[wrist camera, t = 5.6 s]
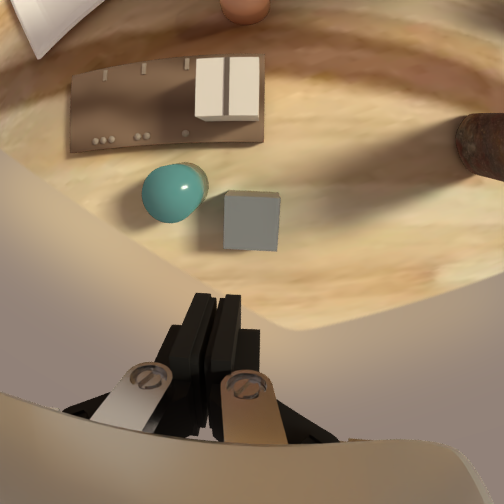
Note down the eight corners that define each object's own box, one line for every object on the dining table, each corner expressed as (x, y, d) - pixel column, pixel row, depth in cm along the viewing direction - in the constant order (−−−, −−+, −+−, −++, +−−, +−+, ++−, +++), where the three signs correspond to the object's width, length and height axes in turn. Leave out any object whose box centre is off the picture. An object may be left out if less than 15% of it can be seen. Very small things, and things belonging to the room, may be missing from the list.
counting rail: (78, 77, 28) (71, 75, 26) (264, 58, 27) (264, 53, 26) (77, 152, 31) (69, 153, 29) (263, 142, 30) (263, 141, 29)
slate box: (229, 190, 32) (224, 195, 28) (278, 192, 32) (280, 198, 28) (227, 237, 34) (223, 248, 30) (275, 239, 33) (277, 251, 30)
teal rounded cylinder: (161, 163, 31) (140, 166, 25) (208, 161, 31) (196, 164, 25) (163, 210, 33) (143, 223, 27) (209, 210, 33) (197, 223, 27)
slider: (206, 72, 26) (196, 58, 22) (259, 71, 26) (259, 56, 21) (205, 121, 28) (194, 116, 23) (258, 121, 28) (258, 115, 23)
